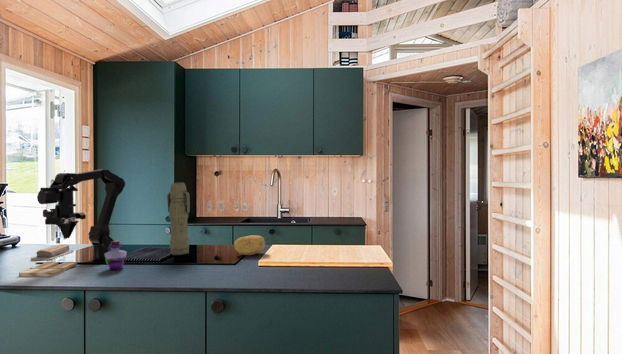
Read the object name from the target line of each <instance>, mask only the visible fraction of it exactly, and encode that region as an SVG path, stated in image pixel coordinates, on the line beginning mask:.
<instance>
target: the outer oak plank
mask: <svg viewBox="0 0 622 354" xmlns="http://www.w3.org/2000/svg"><path fill="white" fill-rule="evenodd" d="M58 265H60V264H59V261H46V262H43V263H42V264H39V265H37V266H34V267H33V266H32V268H53V267H55V266H58Z"/></svg>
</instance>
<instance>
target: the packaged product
mask: <svg viewBox="0 0 622 354" xmlns="http://www.w3.org/2000/svg"><path fill="white" fill-rule="evenodd" d="M74 251H75V250H70V245H69V244H66V243H65V244H63V243H62V244H55V245H52V246H49V247H45V248H42V249H40V250H37V251H36V255H35V256H33V257H30V260H31V261H50V260H49V259H53V258H56V259H58V258H57V257H59V258H61V257H64V256H66V255H69V254H72V253H74ZM60 256H61V257H60Z"/></svg>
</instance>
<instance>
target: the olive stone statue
mask: <svg viewBox="0 0 622 354" xmlns="http://www.w3.org/2000/svg"><path fill="white" fill-rule="evenodd" d="M169 189H170V190H169V192H168V193H167V197H166V199H167V213H169V220H170V240H169V248H170V255H171V254H172V256H182V255H188V254H189V253H190V239H189V237H188V234H189V233H188V231H189V230H188V228H189V227H188V219H189V214H190V212H191V211H190V210H191V204H190V201H191V200H190V199H191V198H190V195H191V194H190V193H189V192H188V191H187V186H186V183H184V182H183V181H182V182H179V181H178V182H172V183H171V185H170V188H169Z"/></svg>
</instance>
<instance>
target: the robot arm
mask: <svg viewBox="0 0 622 354" xmlns="http://www.w3.org/2000/svg"><path fill="white" fill-rule="evenodd" d="M97 179H100V180H101V182H102V183H103V184H104V186H105V187H104V190H105V198H104V200H103V204H102V207H101V209H100V210H101V211H100V214H99V217H98V220H97V222H96V224H95V225H91V226H90V228H89V232H88V233H87V235H88V240H89V241H90V242H91V245H92V246H93V247H94V249H93V255H94V257H93V261H105V259H106V258H105V255H104V254H105V253H107V252H110V251H112V248H110V244H111V241H115V240H114V239H113V238H111V236H110V234H111V230H110V222H111V219H112V215H113V212H114V209H115V206H116V202H117V199H118V197H119V195H120V194H121V193H122V192H123V191H124V188H125V186H126V182H125V179H123V178H122V177H120V176H119V175H117V174H115V173H114V172H111V171H110V170H109V169H106V168H98V169H95V170H90V171H83V172H78V173H76V172H59V173H57V174H56V176H55V178H54V180H53V181H52V183H51V184H50V186H49V187H40V188H39V189H40V190H39V191H38V193H37V195H36V197H37V198H36V199H37V202H38V203H39V204H40V205H48V204H49V205H50V204H56V203H57V204H56V205H55V206H54V208H53V209H49V208H45V209H43V210H42V217H44V218H45V220H44V224H45V226H46V225H50V226H51V225H53V226H54V225H55V226H57V227H58V228H59V230H60V232H61V235H62V236H63V239H64V240H66V239H69V238H71V236H72V233H73V232H74V230H75V228H76V226H77V224H78V223H79V220H85V219H86V216H87V215H86V214H85V213H84V212H75V211H74V209H75V208H74V207H76V206H77V204H76V203H74V192H78V191H79V189H78V188H77V187H75V185H78V184H79V183H81V182H87V181H90V180H97ZM76 219H78V220H76Z"/></svg>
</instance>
